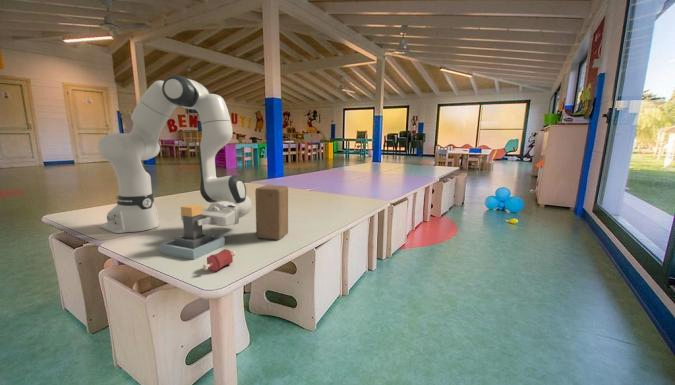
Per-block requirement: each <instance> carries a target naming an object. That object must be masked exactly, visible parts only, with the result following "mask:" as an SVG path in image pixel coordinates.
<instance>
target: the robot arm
mask: <svg viewBox="0 0 675 385" xmlns="http://www.w3.org/2000/svg"><path fill="white" fill-rule="evenodd" d="M177 107H181V108H184V109H187V110H193V111H196V112H197V113H198V116H199V120H200V124H201V139H200V141H199V144H198V157H199V158H198V159H199V169H200V170H199V172H200V185H199V187H200V188H199V192H200V195H201V197H202V198H203V200H205V201H206V202H207V203H210V205H209V206H208V208H205V207H202V208H203V214H202V219H198V220H196V221H195V225H199V226H200V225H202V226H203V225H210V226H217V227H229V226H232V225H237V224H239V223H240V222H239V221H240V219H241V218H243V217H245V216H246V215H248V214H249V213H250V212H251V210H252V209H253V208H252V206H253V202H252V199H251V198H250V197H249V196H248V195H247V188H246V184H245V182H244V181H243V179H242V178H241V177H240V176H238V175H236V174H235V175H226V176H221V177H217V171H216V155H217V153H218V152H219V151H220V150H221V149H222V148H224V147H225V146H227V145H228V144H229V142H230V141H231V140H232V138H233V131H234V130H233V124H232V119H231V116H230V112H229V110H228V106H227V104H226V101H225V99H224V98H223V97H222V96H221V95H219V94H215V93H212V92H211V91H210V90H209V88H208V87H207V86H205V85H203V84H202V83H199V82H198V81H196V80H194V79H189V78H187V77H185V76H182V75H177V74H175V75H174V74H173V75H170V76H168V77H166V78H165V79H164V80H155V81H154V82H153V83H152V84H151V85H150V86H149V87H148V88H147V89H146V91H144V93H143V95H142V96H141V97H140V99H139V101H138V102H137V105H136V106H135V108H134V110H133V111H132V113H131V115H130V119H131V121H132V124H133V125H132V129H131V131H130V132H128V133H126V132H125V133H124V132H123V133H121V132H115V133H111V134H107V135H103V136H102V137H100V138H99V140H98V142H97V150H98V153H99V154H100V156H101V157H103V159H105V160H106V161H108V163H109V164H110V165H111V166H112V170H114V173H115V175H116V178H117V179H116V180H117V183H118V192H119V195H118V196H116V200H117V201H116V205H115V206H114V207H112V209H111V210H109V211H108V212H107V214H106V222H105V223H102V224H100V228H101V229H103V230H106V231H109V232H111V233H114V234H122V233H132V232H133V233H134V232H142V231H147V230H152V229H155V228H157V227H159V226H160V223H161V219H159V216H158V210H157V205H156V204H154V202H155V196H154V193H153V189H152V178H151V175H150V173H149V172H147V171H146V169H145V168H144V165H143V164H142V161H148V160H150V159H153V158H155V157H157V156H158V155H159V153H160V151H161V147H160V146H161V145H160V143H159V141H160V136H161V134H162V131H163V129H164V127H165V125H166V124H167V122H168V121H169V119H170V118H171V115H172V114H173V112H174V111H175V109H176V108H177ZM180 219H181V221H182V222H183V216H182V215H181V214H180Z"/></svg>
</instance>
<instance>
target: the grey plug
mask: <svg viewBox="0 0 675 385" xmlns="http://www.w3.org/2000/svg"><path fill="white" fill-rule="evenodd" d="M203 208H204V207H203V205H202V204H196V203H191V204H186V205H182V206H180V216H181V215H182V216H183V221H182V225H183V235H184V239H189V240H195V239H198V238H200V237H203V231H204V230H203V225H200V226H199V225H195V221H196V220H198V219H202V214H203Z"/></svg>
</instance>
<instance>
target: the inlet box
mask: <svg viewBox="0 0 675 385" xmlns="http://www.w3.org/2000/svg"><path fill="white" fill-rule="evenodd" d="M225 241H226V240H225V236H219V235H213V234H209V233H203V237H200V238H198V239H195V240H189V239H184V234H183V235H181V236H178V237H175V238H174V239H172V240H169V241H167V242H162V243H160V245H159V247H160V253H161V254H163V255H168V256H174V257H179V258H183V259H187V260H194V261H195V260H196V259H199V258H200V257H203V256H205V255H207V254H209V253H211V252H213V251H215V250H218V249H220V248H222V247H224V246H225V245H226V242H225Z"/></svg>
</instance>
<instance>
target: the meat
mask: <svg viewBox="0 0 675 385" xmlns="http://www.w3.org/2000/svg"><path fill="white" fill-rule="evenodd" d="M235 256H236V252H235V251H234V250H232V251H231V250H230V249H226V248H225V249H222V250H221V251H219V252H218V253H214V254H211V255H209V256H207V258H206V264H205V263H204V264H203V265H202V268H203V269H202V270H203V271H207V270H208V269H209V271H211V272H217V271H219V270H221V268H223V267H224V266H228V265H231V264H232V263H233V262H234V261H233V258H234V257H235Z"/></svg>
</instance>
